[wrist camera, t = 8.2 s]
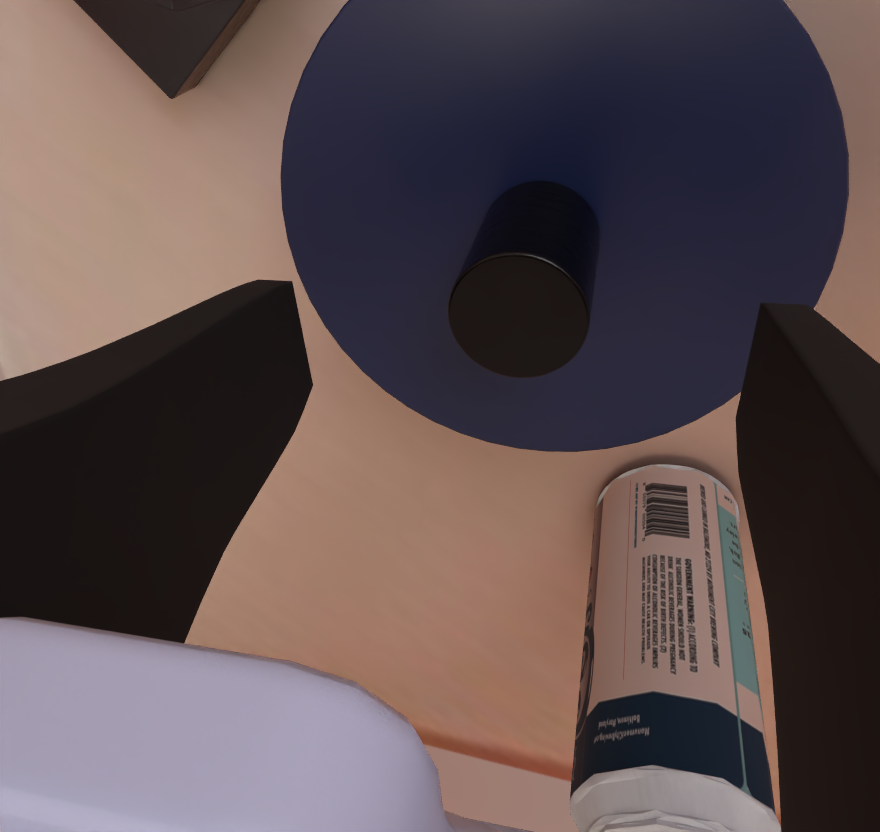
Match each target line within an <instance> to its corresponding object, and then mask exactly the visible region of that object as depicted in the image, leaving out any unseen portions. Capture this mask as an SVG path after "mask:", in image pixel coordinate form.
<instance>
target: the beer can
mask: <svg viewBox="0 0 880 832" xmlns="http://www.w3.org/2000/svg"><path fill="white" fill-rule="evenodd" d="M739 520H740V519H739V509H738V505H737V503H736V501H735V499H734V497H733V495H732V494H731V492H730V491H729V490H728V489H727V488H726V487H725V486H724V485H723V484H722V483H721V482H720V481H719V480H717V479H715V478H714V477H712V476H711V475H709V474H707V473H705V472H702V471H700V470H697V469H694V468H691V467H686V466H679V465H671V464H654V465H647V466H644V467H640V468H636V469H633V470H630V471H627V472H626V473H624V474H622V475H620V476H619V477H617V478H615V479H614V480H613V481H612V482H611V483H609V484H608V485H607V486H606V487H605V489H604V490H603V492H602V493H601V495H600V496H599V499H598V502H597V505H596V509H595V518H594V530H593V541H592V553H591V564H590V576H589V587H588V599H587V610H586V622H585V633H584V645H583V656H582V668H581V679H580V691H579V702H578V714H577V725H576V737H575V748H574V760H573V771H572V783H571V794H570V813H571V816H572V818H573V820H574V822H575V823H576V825H577V828H578V829H579V831H580V832H781V826H780V824H779V822H778V820H777V818H776V815H775V807H774V799H773V791H772V784H771V776H770V768H769V760H768V752H767V745H766V737H765V729H764V721H763V714H762V706H761V698H760V690H759V682H758V675H757V667H756V659H755V651H754V643H753V636H752V628H751V620H750V612H749V604H748V597H747V589H746V581H745V573H744V566H743V558H742V550H741V542H740V534H739Z"/></svg>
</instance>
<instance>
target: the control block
mask: <svg viewBox="0 0 880 832" xmlns="http://www.w3.org/2000/svg"><path fill="white" fill-rule="evenodd" d="M74 1H75V2H76V3H77V4H78V5H79V6H80V7H81V8H82V9H83V10H84V11H85V12H86V13H87V14H88V15H89V16H90V17H91V18H92V19H93V20H94V21H95V22H96V23H97V24H98V25H99V26H100V28H101V29H102V30H103V31H104V32H105V33H106V34H107V35H108V36H109V37H110V38H111V39H112V40H113V41H114V42H115V43H116V44H117V45H118V46H119V47H120V48H121V49H122V50H123V51H124V52H125V53H126V54H127V55H128V56H129V57H130V58H131V59H132V60H133V61H134V62H135V63H136V64H137V65H138V66H139V67H140V68H141V69H142V70H143V71H144V72H145V73H146V74H147V75H148V76H149V77H150V78H151V79H152V80H153V81H154V82H155V83H156V84H157V86H158V87H159V88H160V89H161V90H162V91H163V92H164V93H165V94H166V95H167V96H168V97H169V98H171V99H173V98H175V97H177V96H179V95H181V94H183V93H185V92H187V91H189V90H191V89H193V88H194V87H195V86H196V85H197V83H198V82H199V81H200V79H201V78H202V77H203V75H204V74H205V73H206V71H207V70H208V69H209V67H210V66H211V65H212V63H213V62H214V61H215V59H216V58H217V57H218V55H219V54H220V53H221V51H222V50H223V49H224V47H225V46H226V45H227V43H228V42H229V41H230V39H231V38H232V37H233V35H234V34H235V33H236V31H237V30H238V29H239V27H240V26H241V25H242V24H243V22H244V21H245V20H246V18H247V17H248V16H249V14H250V13H251V12H252V10H253V9H254V8H255V6H256V5H257V4H258V2H259V1H260V0H74Z"/></svg>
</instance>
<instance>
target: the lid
mask: <svg viewBox="0 0 880 832" xmlns="http://www.w3.org/2000/svg"><path fill="white" fill-rule="evenodd" d="M281 192H282V210H283V216H284V221H285V227H286V233H287V238H288V243H289V246H290V249H291V253H292V256H293V259H294V262H295V266H296V269H297V272H298V274H299V276H300V279H301V281H302V283H303V286H304V288H305V290H306V292H307V295H308V297H309V299H310V301H311V303H312V305H313V306H314V308H315V310H316V311H317V313H318V315H319V317H320V318H321V320H322V322H323V323H324V325H325V327H326V328H327V329H328V331H329V332H330V333H331V335H332V336H333V337H334V339H335V340H336V341H337V343H338V344H339V345H340V347H341V348H342V350H343V351H344V352H345V353H346V354H347V355H348V356H349V357H350V358H351V359H352V360H353V361H354V363H355V364H356V365H357V366H358V367H359V368H360V369H361V370H362V371H363V372H364V373H365V374H366V375H367V376H369V377H370V378H371V379H372V380H373V381H374V382H375V383H377V384H378V385H379V386H380V387H381V388H382V389H383V390H385V391H386V392H387V393H389V394H390V395H392V396H393V397H394V398H396V399H397V400H399V401H400V402H402V403H403V404H404V405H406V406H407V407H409V408H410V409H412V410H414V411H416V412H418V413H419V414H421V415H423V416H425V417H426V418H428V419H430V420H432V421H434V422H436V423H438V424H440V425H443V426H445V427H447V428H450V429H452V430H454V431H457V432H459V433H461V434H464V435H468V436H471V437H474V438H477V439H480V440H483V441H486V442H490V443H495V444H500V445H504V446H509V447H514V448H520V449H529V450H538V451H560V452H578V451H588V450H599V449H608V448H613V447H618V446H623V445H628V444H633V443H637V442H640V441H644V440H647V439H650V438H653V437H656V436H659V435H663V434H666V433H668V432H671V431H673V430H675V429H677V428H680V427H682V426H684V425H687V424H689V423H691V422H693V421H696V420H697V419H699V418H701V417H703V416H704V415H706V414H708V413H710V412H711V411H713V410H715V409H716V408H718V407H720V406H722V405H723V404H725V403H726V402H728V401H729V400H730V399H732V398H733V397H734V396H736V395H737V394H738V393H740V392H741V391H742V387H743V382H744V378H745V373H746V368H747V364H748V359H749V354H750V350H751V345H752V340H753V336H754V331H755V326H756V322H757V317H758V312H759V308H760V303H779V304H801V305H808V306H809V307H811V308H812V309H814V307H815V305H816V304H817V302H818V300H819V298H820V295H821V293H822V291H823V289H824V287H825V284H826V282H827V280H828V278H829V276H830V273H831V271H832V269H833V265H834V262H835V259H836V255H837V252H838V249H839V245H840V242H841V239H842V235H843V230H844V224H845V217H846V210H847V203H848V196H849V154H848V148H847V142H846V135H845V129H844V123H843V117H842V112H841V109H840V106H839V103H838V100H837V97H836V94H835V91H834V88H833V85H832V82H831V78H830V75H829V73H828V71H827V69H826V67H825V65H824V63H823V61H822V59H821V57H820V55H819V53H818V51H817V50H816V48H815V46H814V44H813V42H812V40H811V38H810V36H809V34H808V33H807V32H806V30H805V29H804V28H803V26H802V25H801V23H800V22H799V21H798V19H797V18H796V17H795V15H794V14H793V13H792V11H791V10H790V9H789V7H788V6H787V5H786V3H785V2H784V1H783V0H349V1H348V2H347V3H346V4H345V5H344V6H343V8H342V9H341V10H340V12H339V13H338V14H337V16H336V17H335V19H334V20H333V21H332V23H331V24H330V26H329V27H328V28H327V30H326V31H325V32H324V34H323V35H322V37H321V38H320V40H319V42H318V44H317V46H316V48H315V50H314V52H313V53H312V55H311V57H310V59H309V61H308V63H307V65H306V67H305V69H304V71H303V73H302V76H301V79H300V81H299V84H298V87H297V90H296V93H295V95H294V98H293V101H292V104H291V107H290V112H289V116H288V121H287V126H286V130H285V135H284V140H283V152H282V164H281Z"/></svg>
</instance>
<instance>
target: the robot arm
mask: <svg viewBox="0 0 880 832" xmlns="http://www.w3.org/2000/svg"><path fill="white" fill-rule="evenodd" d="M312 387H313V383H312V378H311V373H310V368H309V363H308V358H307V353H306V348H305V343H304V338H303V333H302V328H301V323H300V318H299V313H298V308H297V303H296V298H295V293H294V288H293V283H292V281H274V280H256V281H252V282H249V283H246V284H243V285H240V286H238V287H235V288H232V289H230V290H228V291H225V292H223V293H221V294H219V295H216V296H214V297H212V298H210V299H208V300H205V301H203V302H201V303H199V304H197V305H195V306H192V307H190V308H188V309H186V310H184V311H182V312H180V313H178V314H175V315H173V316H171V317H169V318H167V319H165V320H163V321H160V322H158V323H156V324H154V325H152V326H149V327H147V328H145V329H142V330H140V331H138V332H135V333H133V334H131V335H128V336H126V337H124V338H122V339H119V340H117V341H115V342H112V343H110V344H108V345H105V346H103V347H101V348H98V349H96V350H93V351H91V352H88V353H85V354H83V355H80V356H77V357H75V358H72V359H69V360H67V361H64V362H61V363H58V364H55V365H52V366H49V367H46V368H43V369H40V370H37V371H34V372H31V373H28V374H24V375H21V376H18V377H14V378H10V379H6V380H3V381H0V832H531V831H527V830H522V829H516V828H511V827H506V826H502V825H497V824H492V823H487V822H482V821H477V820H472V819H468V818H464V817H461V816H458V815H455V814H453V813H450V812H447V811H444V810H443V806H442V798H441V790H440V783H439V775H438V769H437V768H436V766H435V764H434V762H433V761H432V759H431V757H430V755H429V754H428V752H427V750H426V748H425V747H424V745H423V743H422V741H421V740H420V738H419V736H418V734H417V733H416V731H415V729H414V728H413V726H412V725H411V723H410V722H409V720H408V719H407V717H405V716H404V715H403V714H401V713H400V712H398V711H397V710H395V709H394V708H392V707H391V706H390V705H388V704H387V703H385V702H384V701H382V700H381V699H380V698H378V697H377V696H375V695H374V694H372V693H371V692H369V691H368V690H367V689H365V688H364V687H362V686H361V685H359V684H358V683H356V682H354V681H351V680H348V679H345V678H342V677H339V676H336V675H333V674H329V673H326V672H323V671H320V670H317V669H314V668H311V667H308V666H305V665H302V664H299V663H295V662H292V661H287V660H281V659H275V658H269V657H263V656H257V655H251V654H245V653H239V652H233V651H226V650H220V649H214V648H208V647H202V646H196V645H190V644H184V642H185V640H186V637H187V635H188V632H189V630H190V628H191V625H192V623H193V620H194V618H195V616H196V613H197V611H198V608H199V606H200V603H201V601H202V599H203V597H204V594H205V592H206V590H207V588H208V586H209V583H210V581H211V579H212V577H213V575H214V572H215V570H216V568H217V566H218V564H219V561H220V559H221V557H222V555H223V553H224V551H225V549H226V547H227V545H228V544H229V542H230V540H231V538H232V536H233V534H234V532H235V531H236V529H237V527H238V526H239V524H240V522H241V521H242V519H243V517H244V516H245V514H246V512H247V511H248V509H249V507H250V506H251V504H252V503H253V501H254V499H255V498H256V496H257V494H258V493H259V491H260V489H261V488H262V486H263V484H264V483H265V481H266V479H267V478H268V476H269V474H270V473H271V471H272V470H273V468H274V466H275V465H276V463H277V461H278V459H279V458H280V456H281V454H282V453H283V451H284V449H285V448H286V446H287V444H288V442H289V441H290V439H291V437H292V435H293V434H294V432H295V429H296V427H297V425H298V422H299V420H300V418H301V415H302V413H303V410H304V408H305V405H306V402H307V400H308V397H309V395H310V392H311V389H312ZM736 435H737V456H738V472H739V478H740V484H741V489H742V494H743V499H744V504H745V509H746V514H747V519H748V524H749V528H750V533H751V538H752V543H753V548H754V553H755V557H756V562H757V567H758V572H759V577H760V581H761V586H762V591H763V596H764V602H765V609H766V615H767V622H768V630H769V642H770V654H771V665H772V677H773V690H774V705H775V720H776V735H777V749H778V768H779V788H780V809H781V829H782V832H880V364H879V363H878V362H877V361H875V360H874V359H873V358H872V357H870V356H869V355H868V354H867V353H866V352H864V351H863V350H862V349H861V348H859V347H858V346H857V345H856V344H855V343H854V342H852V341H851V340H850V339H849V338H848V337H846V336H845V335H844V334H843V333H842V332H841V331H839V330H838V329H837V328H836V327H835V326H833V325H832V324H831V323H830V322H829V321H828V320H826V319H825V318H824V317H823V316H821V315H820V314H819V313H818V312H816V311H815V310H814V309H812V308H811V307H809V306H808V305H801V304H779V303H760V308H759V312H758V317H757V322H756V326H755V331H754V336H753V340H752V345H751V350H750V354H749V359H748V364H747V368H746V373H745V378H744V382H743V387H742V392H741V396H740V401H739V406H738V410H737V415H736Z"/></svg>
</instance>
